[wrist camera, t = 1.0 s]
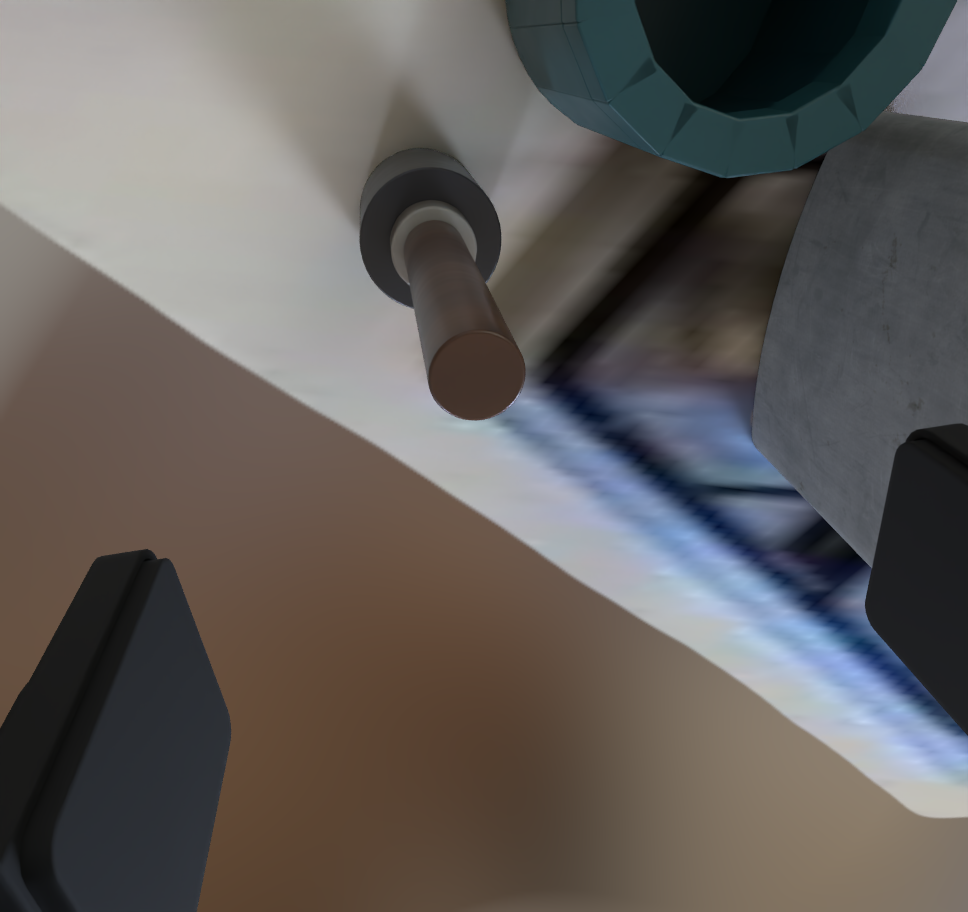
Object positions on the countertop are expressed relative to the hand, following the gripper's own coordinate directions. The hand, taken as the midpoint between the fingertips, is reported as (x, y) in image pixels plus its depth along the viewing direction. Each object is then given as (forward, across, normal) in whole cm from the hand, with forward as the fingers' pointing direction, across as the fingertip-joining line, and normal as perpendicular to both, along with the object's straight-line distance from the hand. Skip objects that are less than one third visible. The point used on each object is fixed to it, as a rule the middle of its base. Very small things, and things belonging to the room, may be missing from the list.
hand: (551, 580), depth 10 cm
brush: (+23, 0, 0) cm, 23 cm away
